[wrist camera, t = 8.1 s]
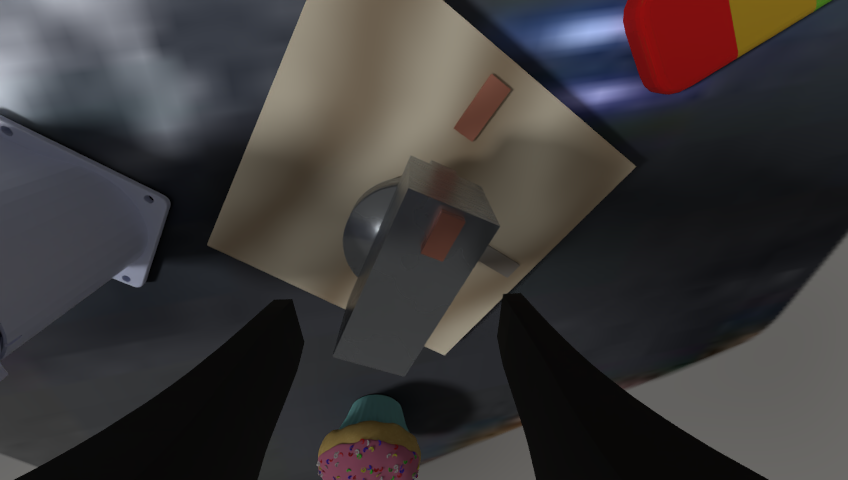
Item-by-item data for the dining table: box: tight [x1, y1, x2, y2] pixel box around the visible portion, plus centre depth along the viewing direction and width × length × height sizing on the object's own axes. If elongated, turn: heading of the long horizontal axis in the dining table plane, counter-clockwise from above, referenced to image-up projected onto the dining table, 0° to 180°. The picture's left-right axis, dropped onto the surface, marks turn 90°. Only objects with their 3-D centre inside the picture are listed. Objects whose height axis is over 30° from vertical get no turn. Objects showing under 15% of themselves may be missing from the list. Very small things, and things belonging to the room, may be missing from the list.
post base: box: [207, 0, 636, 355], centre depth 18 cm, size 18×18×4 cm
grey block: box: [332, 155, 500, 377], centre depth 14 cm, size 8×6×5 cm
